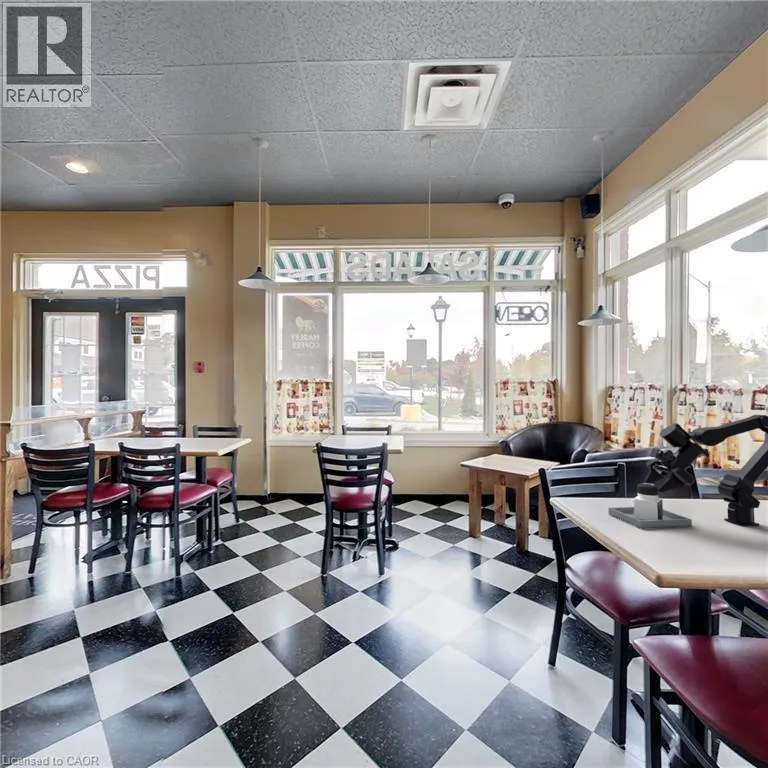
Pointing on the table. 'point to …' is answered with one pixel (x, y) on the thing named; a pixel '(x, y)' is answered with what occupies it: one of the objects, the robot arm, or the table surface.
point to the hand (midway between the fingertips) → (651, 488)
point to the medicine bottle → (648, 503)
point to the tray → (667, 522)
